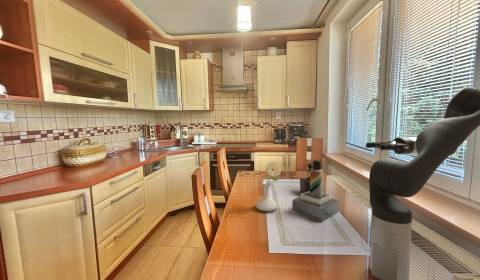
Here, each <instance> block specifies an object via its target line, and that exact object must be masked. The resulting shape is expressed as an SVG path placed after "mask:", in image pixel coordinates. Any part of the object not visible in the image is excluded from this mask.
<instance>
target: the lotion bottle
mask: <svg viewBox="0 0 480 280" xmlns="http://www.w3.org/2000/svg"><path fill="white" fill-rule="evenodd" d="M312 164H313V168H312V169H311V175H310V174H309V176H310V197H313V198H316V199H321V198H322V193H323V183H324V180H323V178H324V177H323V176H324V174H323V173H324V170H323V169H322V168H321V167H322V161H321V160H319V159H313V161H312Z"/></svg>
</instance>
